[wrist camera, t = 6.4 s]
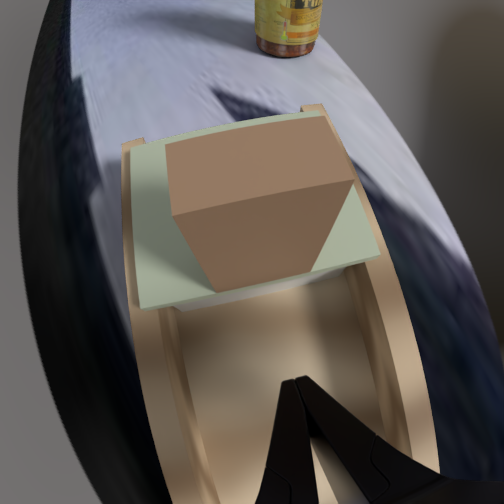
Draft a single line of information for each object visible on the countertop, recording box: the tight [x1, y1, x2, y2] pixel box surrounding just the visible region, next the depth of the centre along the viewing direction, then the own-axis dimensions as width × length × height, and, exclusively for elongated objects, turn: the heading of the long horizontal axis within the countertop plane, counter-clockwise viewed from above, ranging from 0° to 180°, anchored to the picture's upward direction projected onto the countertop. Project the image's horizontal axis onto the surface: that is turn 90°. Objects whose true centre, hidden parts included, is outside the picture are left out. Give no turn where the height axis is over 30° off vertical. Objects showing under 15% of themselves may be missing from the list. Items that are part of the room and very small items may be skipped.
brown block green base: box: [130, 110, 381, 311], centre depth 12 cm, size 9×11×8 cm
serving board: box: [121, 104, 440, 504], centre depth 15 cm, size 24×14×4 cm, turn 13°
